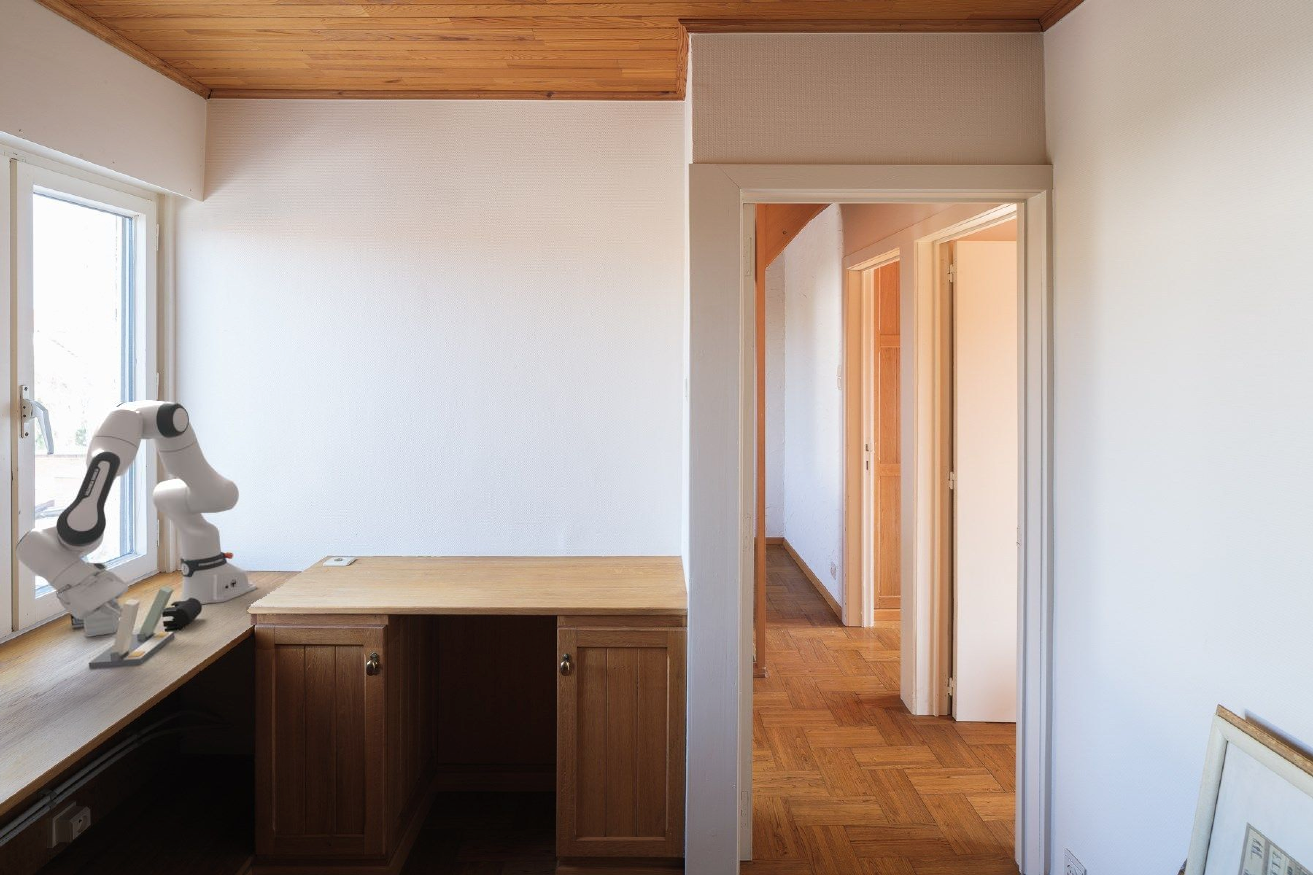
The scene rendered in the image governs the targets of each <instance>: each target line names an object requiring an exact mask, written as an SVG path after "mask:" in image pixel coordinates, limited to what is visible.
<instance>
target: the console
mask: <svg viewBox="0 0 1313 875" xmlns="http://www.w3.org/2000/svg"><path fill="white" fill-rule="evenodd" d="M174 638H175V631H165V632H155V631H154V632H153V633H152V634H151V635H149V636H148V637H147V636H146V637H145V633H139V632H138V633H136V634H132V638H131V642H130V646H129V650H128V651H127V652H126V653H124V654H123V655H121V656H119V653H118V652H113V653H112V651H113V647H114V644H113V645H112V646H110V647H109V648H107V649H106V650H105V651H103V652H102V653H101V654H99V655H98V656H96V657H95V658H93V659H92V660H90V661H89V662H88V669H91V670H92V669H101V668H102V669H104V668H116V667H117V668H118V667H119V668H120V667H132V666H140V665H142V664H144V662H146V661H147V660H149V658H151V657H152V656H153V655H154V654H155V653H157V652H158V651H159V650H161V649H162V648H163V647H165V645H166V644H168V643H169V642H171V640H173V639H174Z"/></svg>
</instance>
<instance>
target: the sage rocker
mask: <svg viewBox="0 0 1313 875" xmlns="http://www.w3.org/2000/svg"><path fill="white" fill-rule="evenodd" d="M174 590H175V589H174V587H173V588H172V587H170V586H167V585H164V586H163V587H161V588H160V589H159V590H158V593H157V594H156V597H155V598H154V601H153V603H152V604H151V606H150V609H149V610H148V613H147V615H146V618H145V620H144V622H143V623H142V626H141V628H140V629H139V632H138V633H145V637H146V636H147V637H148V636H149V635H151V634H152V633H153V632H154V633H155V630H156V628H157V626H158V624H159V622H160V620H161V617H162V613H163V611H164V609H165V608H167V607H166V606H167V604H168V603H169V600H170V598H171V596H172V594H173V592H174Z"/></svg>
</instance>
